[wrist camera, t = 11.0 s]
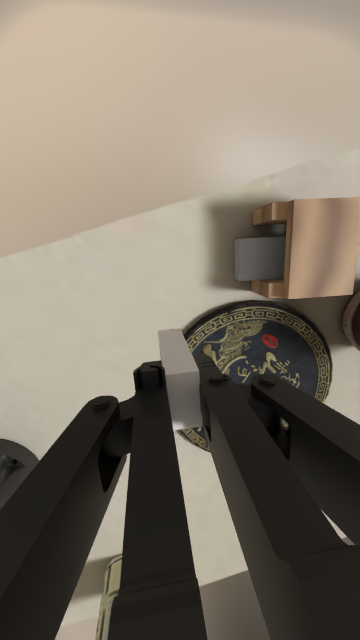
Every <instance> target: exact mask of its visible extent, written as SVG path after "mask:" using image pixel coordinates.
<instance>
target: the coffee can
mask: <svg viewBox="0 0 360 640" xmlns="http://www.w3.org/2000/svg"><path fill="white" fill-rule="evenodd" d="M121 564H122V554H121V555H119V556H117V557H115V558H113V559H112V560H111V561H110V562H109V563H108V565H107V566H106V569H105V578H104V585H103V591H102V598H101V605H100V612H99V619H98V626H97V632H96V640H107V639H108V629H109V621H110V613H111V607H112V603H113V599H114V597H115V596H116V595H117V594H118V591H119V586H120V576H121Z"/></svg>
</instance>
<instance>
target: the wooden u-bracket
mask: <svg viewBox="0 0 360 640" xmlns="http://www.w3.org/2000/svg"><path fill="white" fill-rule="evenodd" d="M267 224H287V230H286V248H285V266H284V278H278V279H264V280H251V291H252V292H254V293H257V294H259V295H262V296H264V297H267V298H279V297H284V298H287V299H297V298H311V297H326V296H340V295H353V288H354V280H355V272H356V264H357V256H358V248H359V240H360V197H354V198H326V199H299V200H292V201H289V202H276V203H270V204H268V205H266V206H263V207H261V208H258V209H256V210H254V211H253V225H267Z"/></svg>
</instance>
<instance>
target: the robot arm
mask: <svg viewBox="0 0 360 640" xmlns="http://www.w3.org/2000/svg"><path fill="white" fill-rule="evenodd" d="M158 338H159V348H160V357H161V361H153V362H145V363H143V364H142V365H141V366H140V367H138V368H137V369H136V370H134V372H133V375H134V383H135V390H136V392H135V395H134V396H133V397H132V398H130V399H128V400H125V401H123V402H120V403H119V402H118V399H117V398H116V397H114V396H99V397H96V398H94V399H92V400H91V401H89V402H88V403H87V404H86V405H85V406H84V407H83V408H82V409H81V411H80V412H79V413H78V414H77V416H76V417H75V418H74V419H73V421H72V422H71V423H70V424H69V425H68V427H67V428H66V429H65V430H64V432H63V433H62V434H61V435H60V437H59V438H58V439H57V440H56V441H55V443H54V444H53V445H52V446H51V448H50V449H49V450H48V451H47V453H46V454H45V455H44V456H43V458H42V459H41V460H40V461H39V460H38V459H37V457H36V456H35V455H34V454H33V453H32V452H31V451H29V450H28V449H27V448H25V447H23V446H22V445H20V444H17V443H15V442H11V441H8V440H2V439H0V640H55V637H56V635H57V632H58V630H59V627H60V625H61V622H62V620H63V617H64V615H65V612H66V610H67V607H68V605H69V602H70V600H71V597H72V595H73V592H74V590H75V587H76V585H77V582H78V580H79V577H80V575H81V572H82V570H83V567H84V565H85V562H86V560H87V557H88V555H89V552H90V550H91V547H92V545H93V542H94V540H95V537H96V535H97V532H98V530H99V527H100V525H101V522H102V520H103V517H104V515H105V512H106V510H107V507H108V505H109V502H110V500H111V497H112V495H113V492H114V490H115V487H116V485H117V482H118V480H119V477H120V475H121V472H122V470H123V467H124V465H125V462H126V458H127V454H128V453H130V465H129V478H128V490H127V502H126V515H125V527H124V539H123V552H122V564H121V576H120V586H119V591H118V594H117V595H116V596H115V597H114V599H113V603H112V607H111V613H110V621H109V629H108V639H107V640H207V634H206V628H205V622H204V615H203V609H202V602H201V597H200V591H199V585H198V580H197V578H196V574H195V568H194V562H193V556H192V549H191V543H190V536H189V530H188V523H187V517H186V510H185V503H184V497H183V490H182V484H181V477H180V471H179V464H178V458H177V451H176V445H175V438H174V432H173V431H174V430H180V429H187V428H194V427H201V426H203V424H202V418H203V421H204V428H205V445H206V448H208V445H209V448H210V451H211V454H212V458H213V461H214V464H215V467H216V470H217V473H218V476H219V479H220V483H221V486H222V489H223V492H224V495H225V498H226V501H227V504H228V508H229V511H230V514H231V517H232V520H233V523H234V526H235V529H236V533H237V536H238V539H239V542H240V545H241V548H242V551H243V555H244V558H245V561H246V564H247V567H248V570H249V573H250V576H251V579H252V583H253V586H254V589H255V592H256V595H257V598H258V601H259V605H260V607H261V611H262V614H263V617H264V620H265V623H266V626H267V630H268V632H269V636H270V639H271V640H360V425H359V424H357V423H356V422H354V421H352V420H351V419H349V418H347V417H345V416H344V415H342V414H340V413H339V412H337V411H335V410H334V409H332V408H330V407H328V406H327V405H325V404H323V403H322V402H320V401H318V400H317V399H315V398H313V397H311V396H310V395H308V394H306V393H305V392H303V391H301V390H300V389H298V388H296V387H294V386H293V385H291V384H289V383H288V382H286V381H284V380H283V379H281V378H279V377H277V376H274V375H270V374H260V375H256V376H253V377H252V378H251V385H247V384H236V383H234V381H233V380H232V378H231V377H230V376H228V375H226V374H223V373H221V371H220V370H219V368H218V367H217V366H216V364H215V362H214V360H213V359H212V357H210V356H208V355H206V354H205V355H197V356H192V354H191V352H190V349H189V347H188V345H187V343H186V340H185V338H184V336H183V334H182V332H181V329H170V330H161V331H158ZM283 419H284V420H285V421H286V422H287V424H288V425H289V426H288V428H286V427H285V426H284V425H283ZM321 510H322V511H323V512H324V513H325V514H326V515H327V516H328V517H329V518H330V519H331V520H332V521H333V522H334V523H335V524H336V525H337V526H338V527H339V528H340V530H341V531H342V532H343V533H344V534H345V535H346V536H347V537H348V538H349V539H350V540H351V541H352V542H353V543H354V544H355V545H347V544H346V543H345V542H343V541H342V539H341V538H340V537H339V536H338V534H337V533H336V531H335V530H334V528H333V527H332V525H331V524H330V522H329V521H328V520H327V518H326V517H325V515H324V514H323V512H322V511H321Z"/></svg>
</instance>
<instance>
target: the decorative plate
mask: <svg viewBox="0 0 360 640" xmlns="http://www.w3.org/2000/svg"><path fill="white" fill-rule="evenodd" d="M184 338H185V340H186V343H187V345H188V347H189V349H190V352H191V354H192V356H197V355H205V354H206V355H208V356H210V357H212V359H213V360H214V362H215V364H216V366H217V367H218V368H219V370H220V371H221V373H223V374H226V375H228V376H230V377H231V378H232V380H233V381H234V383H236V384H247V385H251V378H252V377H253V376H256V375H260V374H270V375H274V376H277V377H279V378H281V379H283V380H284V381H286V382H288V383H289V384H291V385H293V386H294V387H296V388H298V389H300V390H301V391H303V392H305V393H306V394H308V395H310V396H311V397H313V398H315V399H317V400H318V401H320V402H322V403H323V404H324V403H325V401H326V399H327V397H328V394H329V390H330V386H331V382H332V359H331V354H330V349H329V347H328V345H327V342H326V340H325V338H324V336H323V335H322V333H321V332H320V331H319V329H318V328H317V327H316V325H315V324H314V323H313V322H312V321H310V320H309V319H308V318H307V317H306V316H304V315H303V314H302V313H300V312H298V311H296V310H294V309H292V308H291V307H289V306H286V305H283V304H279V303H275V302H271V301H257V300H251V301H244V302H238V303H233V304H230V305H227V306H224V307H222V308H219V309H217V310H215V311H213V312H211V313H210V314H208V315H206V316H204V317H203V318H201V319H200V320H199V321H198V322H197V323H195V324H194V325H193V326H192V327H191V328H190V329H188V331H187V332H186V333H185V334H184ZM202 424H203V426H201V427H194V428H187V429H180V432H181V433H182V434H183V435H184V436H185V437H186V438H187V439H188V440H189V441H191V442H192V443H193V444H195V445H196V446H198V447H200V448H201V449H203V450H205V451H208V452H210V453H211V451H210V448H209V445H208V448H206V445H205V428H204V421H203V418H202ZM283 425H284V426H285V427H286V428H288V426H289V425H288V424H287V422H286V421H285V420H284V419H283Z"/></svg>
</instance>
